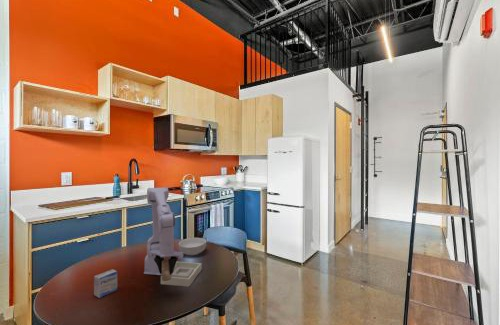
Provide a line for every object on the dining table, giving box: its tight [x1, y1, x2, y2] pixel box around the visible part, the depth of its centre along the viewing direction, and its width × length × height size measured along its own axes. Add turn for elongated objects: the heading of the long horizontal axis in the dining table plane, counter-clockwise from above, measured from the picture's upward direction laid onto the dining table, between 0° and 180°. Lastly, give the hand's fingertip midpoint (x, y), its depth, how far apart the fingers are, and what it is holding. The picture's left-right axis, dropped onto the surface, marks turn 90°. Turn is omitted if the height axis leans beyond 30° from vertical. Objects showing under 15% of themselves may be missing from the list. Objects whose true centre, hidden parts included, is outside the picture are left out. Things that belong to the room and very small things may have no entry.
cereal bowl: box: [178, 237, 207, 257], centre depth 151 cm, size 17×17×7 cm
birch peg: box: [161, 257, 171, 281], centre depth 105 cm, size 4×4×8 cm
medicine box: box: [93, 269, 118, 299], centre depth 107 cm, size 8×4×9 cm, turn 148°
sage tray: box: [160, 260, 202, 288], centre depth 122 cm, size 14×17×4 cm
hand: (166, 273), depth 105 cm, fingers closed on birch peg, 4 cm apart
